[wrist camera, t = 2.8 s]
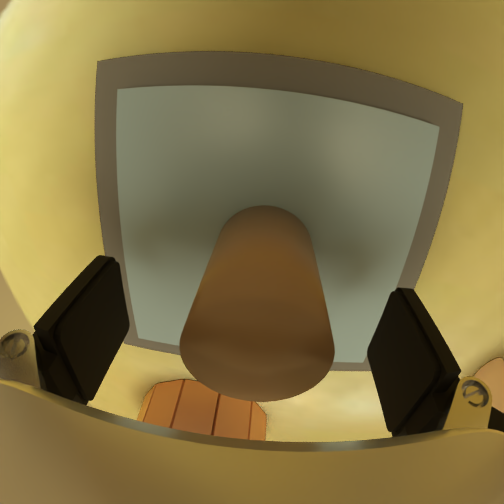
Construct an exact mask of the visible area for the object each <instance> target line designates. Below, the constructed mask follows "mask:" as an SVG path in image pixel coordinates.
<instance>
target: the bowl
mask: <svg viewBox="0 0 504 504" xmlns="http://www.w3.org/2000/svg"><path fill="white" fill-rule="evenodd" d="M266 417H267V416H266V414H265V413H264V412H263V410H262V409H261V408H260V407H259V406H258V405H257V403H256V402H255V401H245V400H239V399H235V398H231V397H228V396H225V395H222V394H220V393H217V392H215V391H213V390H211V389H209V388H208V387H206V386H205V385H203V384H202V383H201V382H199V381H193V380H187V379H186V380H185V381H184V380H183V379H181V380H175V381H169V382H163V383H157V384H155V385H154V387H153V388H152V389H151V390H150V391H149V392H148V393H147V395H146V396H145V398H144V401H143V404H142V407H141V409H140V412H139V415H138V418H137V421H141V422H145V423H149V424H153V425H158V426H162V427H167V428H172V429H177V430H182V431H188V432H193V433H199V434H206V435H213V436H220V437H228V438H237V439H248V440H260V441H265V436H266Z"/></svg>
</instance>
